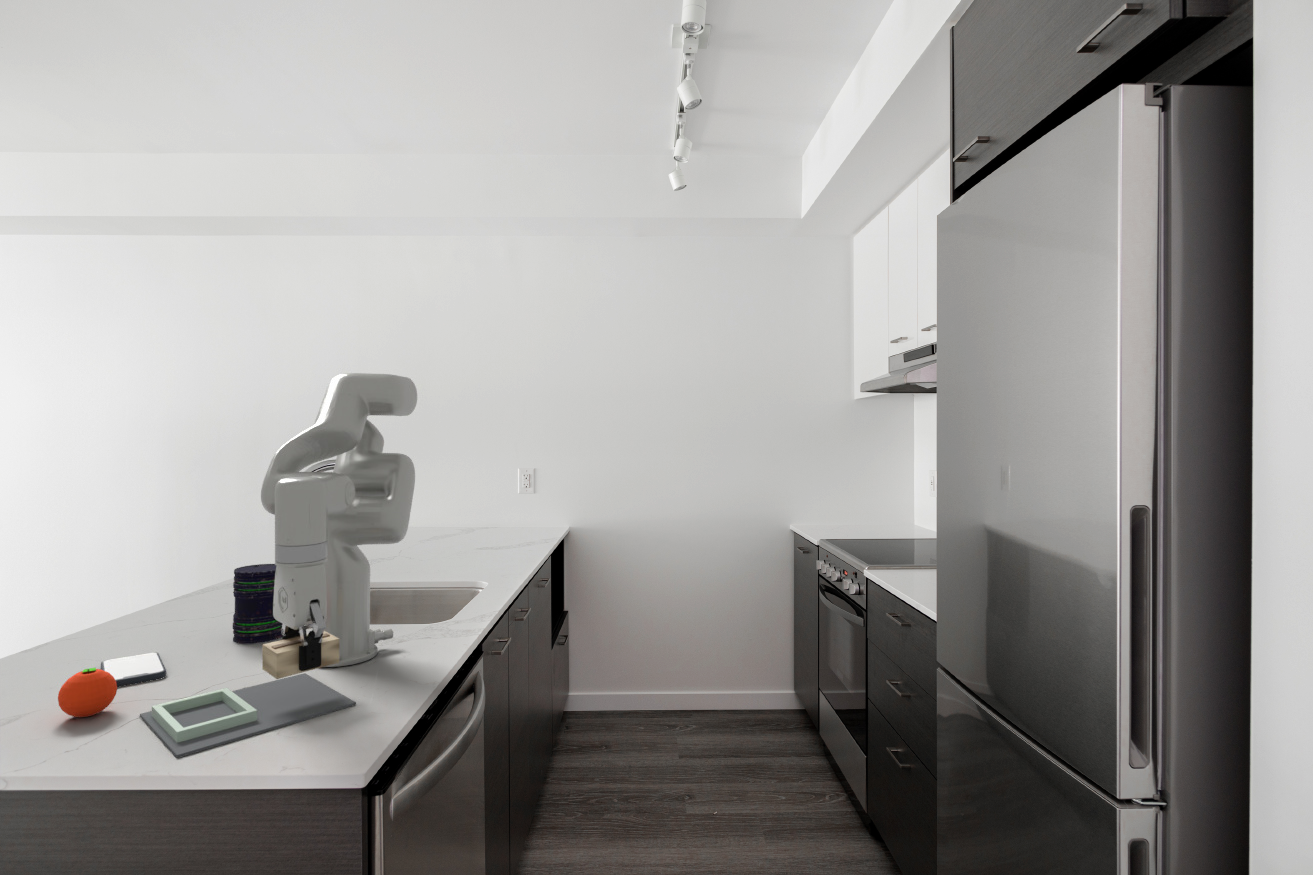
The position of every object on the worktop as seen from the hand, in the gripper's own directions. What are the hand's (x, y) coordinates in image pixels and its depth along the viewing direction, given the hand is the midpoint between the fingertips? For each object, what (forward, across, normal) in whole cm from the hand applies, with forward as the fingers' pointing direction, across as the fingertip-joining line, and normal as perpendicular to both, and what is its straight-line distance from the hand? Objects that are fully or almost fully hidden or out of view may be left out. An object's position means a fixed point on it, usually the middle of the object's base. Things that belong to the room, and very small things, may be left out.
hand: (301, 661), depth 107 cm
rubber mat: (+6, -2, -7) cm, 10 cm away
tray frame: (+6, -3, -13) cm, 15 cm away
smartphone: (+8, -37, -15) cm, 41 cm away
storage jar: (+8, -44, +8) cm, 45 cm away
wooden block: (+1, 0, 0) cm, 1 cm away
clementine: (+7, -19, -24) cm, 31 cm away
